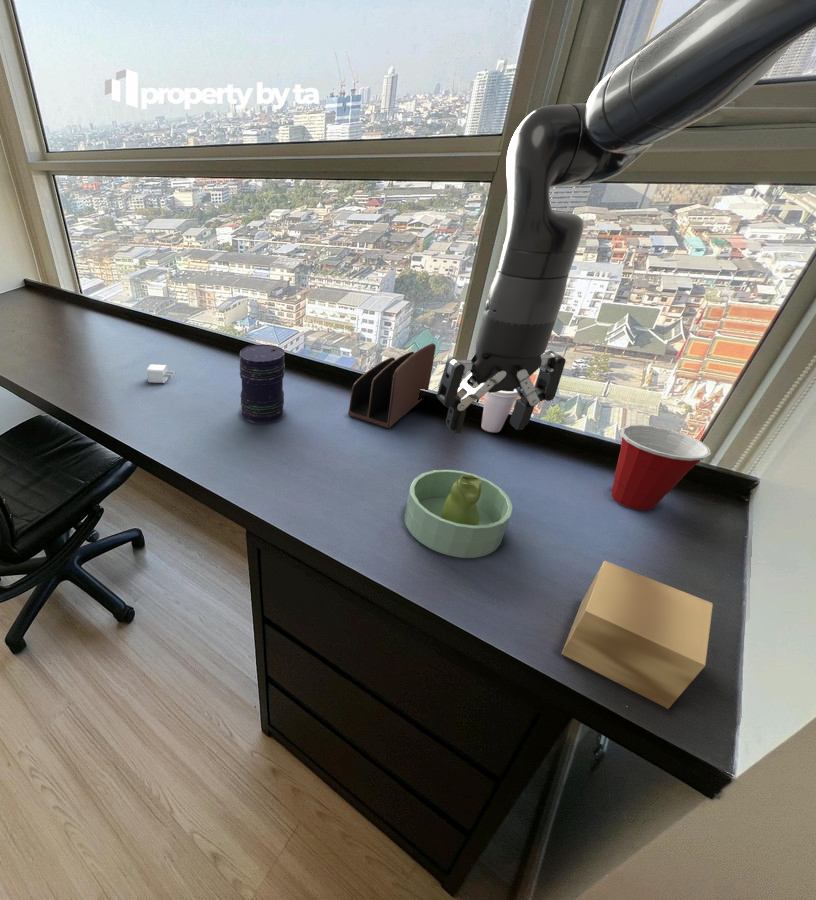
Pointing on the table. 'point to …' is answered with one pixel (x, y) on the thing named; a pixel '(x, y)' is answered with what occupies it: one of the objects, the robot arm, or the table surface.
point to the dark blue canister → (262, 383)
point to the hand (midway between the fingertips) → (485, 428)
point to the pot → (448, 535)
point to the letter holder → (392, 387)
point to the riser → (641, 633)
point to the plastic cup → (653, 464)
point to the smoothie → (497, 409)
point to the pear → (463, 501)
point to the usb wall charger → (158, 373)
